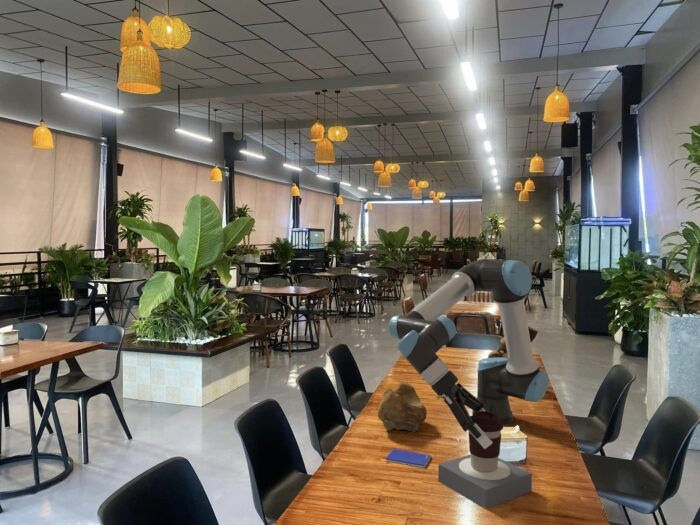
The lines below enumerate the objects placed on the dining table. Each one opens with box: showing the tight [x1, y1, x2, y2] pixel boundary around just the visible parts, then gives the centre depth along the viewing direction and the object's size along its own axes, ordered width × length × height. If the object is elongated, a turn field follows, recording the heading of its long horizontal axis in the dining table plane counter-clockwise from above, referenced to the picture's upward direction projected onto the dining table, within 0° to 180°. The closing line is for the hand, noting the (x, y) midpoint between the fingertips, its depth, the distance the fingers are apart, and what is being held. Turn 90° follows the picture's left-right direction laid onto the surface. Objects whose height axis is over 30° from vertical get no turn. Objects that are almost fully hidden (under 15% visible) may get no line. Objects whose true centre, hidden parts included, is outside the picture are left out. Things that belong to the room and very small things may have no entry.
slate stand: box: [437, 454, 533, 509], centre depth 148 cm, size 18×18×5 cm
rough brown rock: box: [377, 381, 428, 433], centre depth 193 cm, size 23×17×15 cm
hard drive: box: [385, 448, 432, 469], centre depth 165 cm, size 2×8×12 cm
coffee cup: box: [468, 411, 504, 472], centre depth 148 cm, size 10×10×15 cm
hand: (492, 437), depth 146 cm, fingers open, 13 cm apart
